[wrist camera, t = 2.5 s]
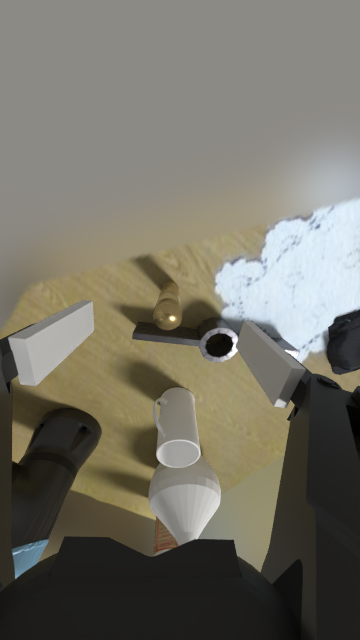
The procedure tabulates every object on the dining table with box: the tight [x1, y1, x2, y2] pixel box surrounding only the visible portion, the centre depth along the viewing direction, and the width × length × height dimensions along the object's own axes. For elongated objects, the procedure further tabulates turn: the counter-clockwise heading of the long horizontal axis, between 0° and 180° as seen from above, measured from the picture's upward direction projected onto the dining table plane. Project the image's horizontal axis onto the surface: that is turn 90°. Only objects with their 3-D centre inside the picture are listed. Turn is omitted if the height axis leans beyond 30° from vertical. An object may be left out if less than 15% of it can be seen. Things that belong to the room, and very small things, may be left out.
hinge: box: [132, 317, 300, 362], centre depth 32 cm, size 31×7×5 cm, turn 82°
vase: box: [148, 454, 221, 546], centre depth 41 cm, size 18×18×19 cm
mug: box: [153, 387, 200, 468], centre depth 35 cm, size 12×8×12 cm
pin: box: [153, 281, 182, 330], centre depth 24 cm, size 3×3×15 cm
